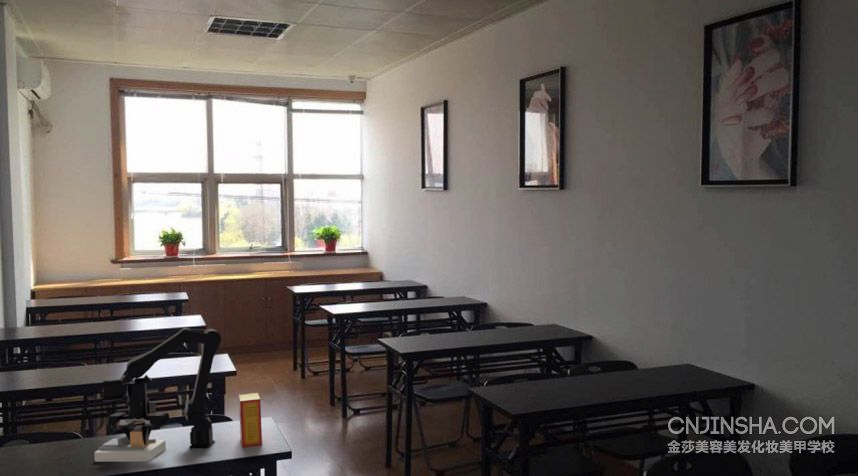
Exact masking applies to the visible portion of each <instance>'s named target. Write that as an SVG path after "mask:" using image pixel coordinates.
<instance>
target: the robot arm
mask: <svg viewBox="0 0 858 476" xmlns="http://www.w3.org/2000/svg"><path fill="white" fill-rule="evenodd" d="M186 342H193V343H197V344H200V346H201V347H200V349H201V352H200V353H201V357H200V360H199V361H200V362H199V365H198V370H197V375H196V379H195V384H194V388H193V392H192V393H193V394H192V397H191V398H190V400H189V399H186V400H185V407H184V409H183V413H184V416H185V418H186V420H187V423H188V424H189V425H191V426H192V427H191V429H190V432H189V443H190V445H189V448H194V449H195V448H196V449H197V448H199V449H200V448H201V449H202V448H203V449H204V448H205V449H207V448H209V447H211V446H212V445H214V444H215V442H216V440H214V438H213V436H214V435H213V433H214V432H213V422H212V420H211V419H210V417H209V415H207V414H206V394H207V389H208V386H209V379H210V377H211V370H212V366H213V360H214V357H215V356H216V353H217V352H218V350H219V347H220V345H221V342H222V336H221V334H220V332H218V330H216V329H214V328H207V329H205V330H204V329H195V328H194V329H193V328H188V327H183V328H181V329H180V330H179V331H178V332H176V333H175V334H173V335H172V336H170V337H169V338H168V339H166V340H165V341H163V342H162V343H160V344H158V345H157V346H155V347H153V348H152V349H151V350H150V351H147V352H145V353H142V354H140V355H137V356H135V357H133V358H131V359H129V360H128V361H127V363H126V366H125V367H126V369H125V371H124V372H123V373H122V375H121V376H120V378H116V379H103V380H102V402H103V403H104V402H111V401H120V400H122V399H123V398H124V397H126V390H127V401H126V402H125V406H127V407H128V411H127V412H128V413H127V412H125V411H123V412H115V413H112V414H110V415H109V416H108V417H107V420H106V424H107V426H117V424H118V426H117V427H118V428H119V429H121V430H122V432H123V433H124V434H125V435H126V436H127V437H128V439H129V441H130V432H131V431H133V430H134V427H135V425H136V422H144V424H143V425H141V426H142V433H143V441H144V445H146V444H147V442H148V439H150V435H151V433H152V430H153V428H154V426H162V425H164V424H165V423H166V422H168V421H170V414H169V413H168V412H167V411H157V410H156V409H157V403H154V402H150V398H149V397H147V394H148V393H147V384H151V383H152V382H153V380H152V378H151V377H150V376H148V375H147V374H146V373H147V372H148V371H149V370H150V369H151V368H152V367H153V366H154V365H155V364H156V363H157V362H158V361H160V360H161V359H162V358H165V356H167V355H168V354H170V353H171V352H173V351H174V350H176V349H177V348H179V347H180V346H182V345H183V344H184V343H186ZM126 387H127V389H126ZM151 414H152V415H151Z"/></svg>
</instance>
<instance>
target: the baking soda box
mask: <svg viewBox="0 0 858 476" xmlns="http://www.w3.org/2000/svg"><path fill="white" fill-rule="evenodd" d="M261 408H262V407H261V398H260V395H259V392H251V393H243V394H238V409H239V411H238V412H239V413H238V414H239V434H240V435H239V436H240V445H241V447H242V449H244V448H249V447H250V448H251V447H252V448H253V447H258V446H263V435H262V433H263V432H262V413H261V411H262V410H261Z"/></svg>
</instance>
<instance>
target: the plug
mask: <svg viewBox="0 0 858 476" xmlns="http://www.w3.org/2000/svg"><path fill="white" fill-rule="evenodd" d="M142 426H143V425H136V426H134V430H133V431H131V432H130V445H131V447H144V448H146V447H147V446H149V445H148V442H147V444H146V445H144V441H143V433H142Z"/></svg>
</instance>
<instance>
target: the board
mask: <svg viewBox="0 0 858 476" xmlns="http://www.w3.org/2000/svg"><path fill="white" fill-rule="evenodd" d="M148 445H149V446H147V447H146V448H144V447H131V445H130V444H128V445H127V446H125V447H103V446H99V447H98V450H96V451H94V452H93V453H94V462H97V463H98V462H99V463H101V462H107V463H109V462H135V463H136V462H137V463H139V462H143V463H144V462H148V463H149V462H150V461H151V460H153V459H154V458H156V457H157V456H158V455H160V454H161V453H162V452H164V451H166V450H167V441H166V440H164V439H162V440H161V439H159V440H158V439H156V438H149V439H148Z"/></svg>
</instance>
